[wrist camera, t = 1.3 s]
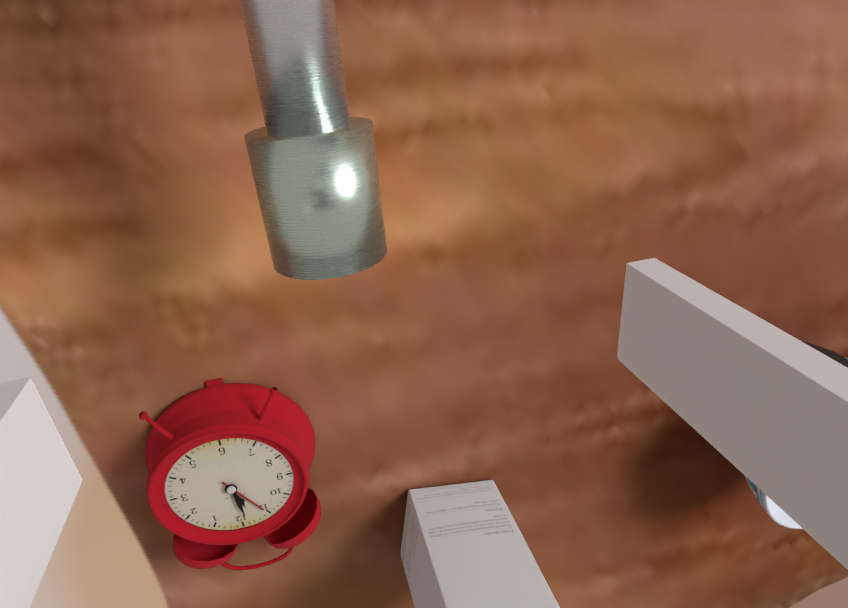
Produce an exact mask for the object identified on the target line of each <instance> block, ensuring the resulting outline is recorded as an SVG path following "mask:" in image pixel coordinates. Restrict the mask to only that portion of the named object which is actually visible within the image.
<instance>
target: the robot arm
mask: <svg viewBox="0 0 848 608" xmlns="http://www.w3.org/2000/svg"><path fill="white" fill-rule="evenodd" d="M617 359H618V360H619V361H620V362H621V363H623V364H624V365H625V366H626V367H627V368H628V369H629V370H630V371H631V372H632V373H634V374H635V375H636V376H637V377H638V378H639V379H640V380H641V381H642V382H643V383H644V384H646V385H647V386H648V387H649V388H650V389H651V390H652V391H653V392H654V393H655V394H656V395H658V396H659V397H660V398H661V399H662V400H663V401H664V402H665V403H666V404H667V405H668V406H670V407H671V408H672V409H673V410H674V411H675V412H676V413H677V414H678V415H679V416H680V417H682V418H683V419H684V420H685V421H686V422H687V423H688V424H689V425H690V426H691V427H692V428H694V429H695V430H696V431H697V432H698V433H699V434H700V435H701V436H702V437H703V438H704V439H706V440H707V441H708V442H709V443H710V444H711V445H712V446H713V447H714V448H715V449H716V450H718V451H719V452H720V453H721V454H722V455H723V456H724V457H725V458H726V459H727V460H728V461H730V462H731V463H732V464H733V465H734V466H735V467H736V468H737V469H738V470H739V471H741V472H742V473H743V474H744V475H745V476H746V477H747V478H748V479H749V480H750V481H751V482H753V483H754V484H755V485H756V486H757V487H758V488H759V489H760V490H761V491H762V492H763V493H765V494H766V495H767V496H768V497H769V498H770V499H771V500H772V501H773V502H774V503H775V504H777V505H778V506H779V507H780V508H781V509H782V510H783V511H784V512H785V513H786V514H787V515H789V516H790V517H791V518H792V519H793V520H794V521H795V522H796V523H797V524H798V525H799V526H801V527H802V528H803V529H804V530H805V531H806V532H807V533H808V534H809V535H810V536H811V537H813V538H814V539H815V540H816V541H817V542H818V543H819V544H820V545H821V546H822V547H823V548H825V549H826V550H827V551H828V552H829V553H830V554H831V555H832V556H833V557H834V558H835V559H837V560H838V561H839V562H840V563H841V564H842V565H843V566H844V567H845V568H846V569H848V359H846V358H844V357H842V356H841V355H839V354H837V353H835V352H833V351H830V350H827V349H824V348H821V347H818V346H816V345H813V344H810V343H807V342H804V341H800V340H798V339H796V338H794V337H793V336H791V335H789V334H787V333H786V332H784V331H782V330H780V329H779V328H777V327H775V326H773V325H772V324H770V323H768V322H766V321H765V320H763V319H761V318H759V317H758V316H756V315H754V314H752V313H751V312H749V311H747V310H745V309H743V308H742V307H740V306H738V305H736V304H735V303H733V302H731V301H729V300H728V299H726V298H724V297H722V296H721V295H719V294H717V293H715V292H714V291H712V290H710V289H708V288H707V287H705V286H703V285H701V284H700V283H698V282H696V281H694V280H692V279H691V278H689V277H687V276H685V275H684V274H682V273H680V272H678V271H677V270H675V269H673V268H671V267H670V266H668V265H666V264H664V263H663V262H661V261H659V260H657V259H656V258H652V259H646V260H641V261H636V262H631V263H627V265H626V275H625V285H624V295H623V305H622V314H621V324H620V334H619V344H618V353H617ZM82 481H83V480H82V478H81V476H80V474H79V472H78V470H77V468H76V466H75V464H74V462H73V460H72V458H71V456H70V454H69V452H68V450H67V448H66V446H65V444H64V442H63V440H62V438H61V436H60V434H59V432H58V430H57V429H56V426H55V424H54V423H53V420H52V419H51V417H50V414H49V413H48V411H47V409H46V407H45V405H44V403H43V401H42V399H41V397H40V395H39V393H38V391H37V389H36V387H35V385H34V383H33V381H32V379H31V377H30V378H25V379H19V380H15V381H10V382H4V383H0V608H30V606H31V604H32V601H33V599H34V596H35V593H36V592H37V589H38V587H39V584H40V582H41V580H42V577H43V575H44V572H45V570H46V567H47V565H48V563H49V560H50V558H51V555H52V553H53V550H54V548H55V546H56V543H57V541H58V538H59V536H60V534H61V531H62V529H63V527H64V524H65V522H66V519H67V517H68V514H69V512H70V510H71V507H72V505H73V502H74V500H75V498H76V495H77V493H78V490H79V488H80V485H81V483H82Z"/></svg>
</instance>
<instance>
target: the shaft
mask: <svg viewBox="0 0 848 608" xmlns="http://www.w3.org/2000/svg"><path fill="white" fill-rule="evenodd" d="M240 4H241V9H242V14H243V19H244V24H245V29H246V33H247V38H248V43H249V48H250V53H251V58H252V63H253V67H254V72H255V77H256V82H257V87H258V92H259V96H260V101H261V106H262V111H263V116H264V121H265V126H266V127H262V128H259V129H256V130H253V131H250V132H248V133H247V134H245V136H244V138H245V142H246V147H247V151H248V155H249V160H250V164H251V169H252V173H253V177H254V182H255V186H256V191H257V195H258V200H259V204H260V208H261V213H262V217H263V222H264V226H265V231H266V235H267V239H268V244H269V248H270V253H271V257H272V261H273V266H274V269H275V270H276V271H277V272H278V273H280V274H281V275H284V276H286V277H290V278H295V279H304V280H319V279H330V278H337V277H342V276H346V275H350V274H354V273H357V272H360V271H363V270H365V269H367V268H369V267H372V266H373V265H375V264H377V263H378V262H379V261H381V260H382V259H383V258H384V256H385V255H386V253H387V244H386V236H385V227H384V219H383V210H382V202H381V193H380V185H379V176H378V168H377V159H376V150H375V142H374V133H373V125H372V121H371V120H369V119H365V118H358V117H349V110H348V103H347V96H346V88H345V81H344V73H343V66H342V59H341V51H340V44H339V36H338V29H337V22H336V14H335V7H334V0H240Z"/></svg>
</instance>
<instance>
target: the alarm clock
mask: <svg viewBox="0 0 848 608" xmlns="http://www.w3.org/2000/svg"><path fill="white" fill-rule="evenodd" d="M206 385H207V387H206V388H203V389H200V390H197V391H194V392H192V393H190V394H188V395H186V396H184V397H182V398H180V399H179V400H177V401H176V402H174V403H173V404H172V405H170V406H169V407H168V408H167V409H166V410H165V411H164V412H163V413H162V414H161V415H160V416H159V418H158V419H157V420H156V422H154V421H153V420H152V419H150V418H149V417H148V414H147V413H146V412H141V413H140V414H139V418H140V419H142V420H143V419H145V420H146V421H147V422H149V423H150V424H151V425H152V426H153V427H152V429H151V431H150V434H149V437H148V440H147V444H146V452H145V458H146V464H147V468H148V471H149V476H148V481H147V495H148V499H149V504H150V507H151V510H152V512H153V514H154V515H155V517H156V518H157V520H158V521H159V522H160V523H161V524H162V525H163V526H164V527H165V528H166V529H168V530H169V531H171V532H172V533H174V537H173V548H174V553H175V555H176V557H177V558H178V560H179V561H181V562H182V563H183V564H185V565H187V566H189V567H192V568H198V569H206V568H212V567H216V566H218V565H222V566H224V567H225V568H228V569H232V570H248V569H255V568H259V567H263V566H267V565H270V564H273V563H275V562H278V561H280V560H282V559H284V558H285V557H287V556H288V555H289V554H290V553H291V552H292V550H293V548H294V546H296V545H299V544H300V543H302V542H303V541H305V540H306V539H307V538H308V537H309V536H310V535H311V534H312V533H313V532H314V530H315V529H316V527H317V525H318V523H319V521H320V516H321V505H320V501H319V499H318V497H317V495H316V494H315V493H314V491H313V490H311V489H308V486H309V468H310V466H311V464H312V461H313V458H314V453H315V437H314V431H313V427H312V424H311V422H310V420H309V418H308V417H307V415H306V414H305V412H304V411H303V410H302V409H301V407H299V406H298V405H297V404H296V403H295V402H294V401H292V400H291V399H290V398H288V397H287V396H285V395H283V394H281V393H279V392H278V390H277V388H276V387H272V388H270V389H269V388H266V387H263V386H258V385H252V384H241V383H229V384H223V382H222V378H218V379H213V380H207V381H206ZM263 536H264V537H265V540H266V541H267V542H268V543H269V544H271V545H272V546H274V547H275V548H279V549H285V548H289V550H288V551H287V552H286V553H285V554H283V555H281V556H280V557H278V558H275V559H273V560H270V561H267V562H264V563H260V564H256V565H249V566H233V565H229V564H227V563H225V562H226V561H228V560H229V559H230V558H231V557H232V556H233V554H234V553H235V551H236V549H237V547H238V544H239V543H244V542H248V541H252V540H255V539H258V538H261V537H263Z"/></svg>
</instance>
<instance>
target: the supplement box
mask: <svg viewBox="0 0 848 608" xmlns="http://www.w3.org/2000/svg"><path fill="white" fill-rule="evenodd" d="M400 555H401V559H402V562H403V566H404V570H405V573H406V577H407V581H408V584H409V588H410V592H411V596H412V599H413V603H414V607H415V608H560V607H559V605H558V603H557V601H556V599H555V598H554V596H553V594H552V592H551V590H550V588H549V586H548V584H547V582H546V580H545V578H544V576H543V575H542V573H541V571H540V569H539V567H538V565H537V563H536V561H535V559H534V557H533V555H532V553H531V551H530V549H529V548H528V545H527V544H526V542H525V540H524V538H523V536H522V534H521V532H520V530H519V528H518V526H517V524H516V523H515V521H514V519H513V517H512V515H511V513H510V511H509V509H508V507H507V505H506V503H505V502H504V500H503V498H502V496H501V494H500V492H499V490H498V489H497V487H496V485H495V483H494V481H493V480H485V481H478V482H469V483H461V484H452V485H444V486H436V487H427V488H419V489H410V490H408V496H407V504H406V512H405V520H404V527H403V535H402V544H401V553H400Z"/></svg>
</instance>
